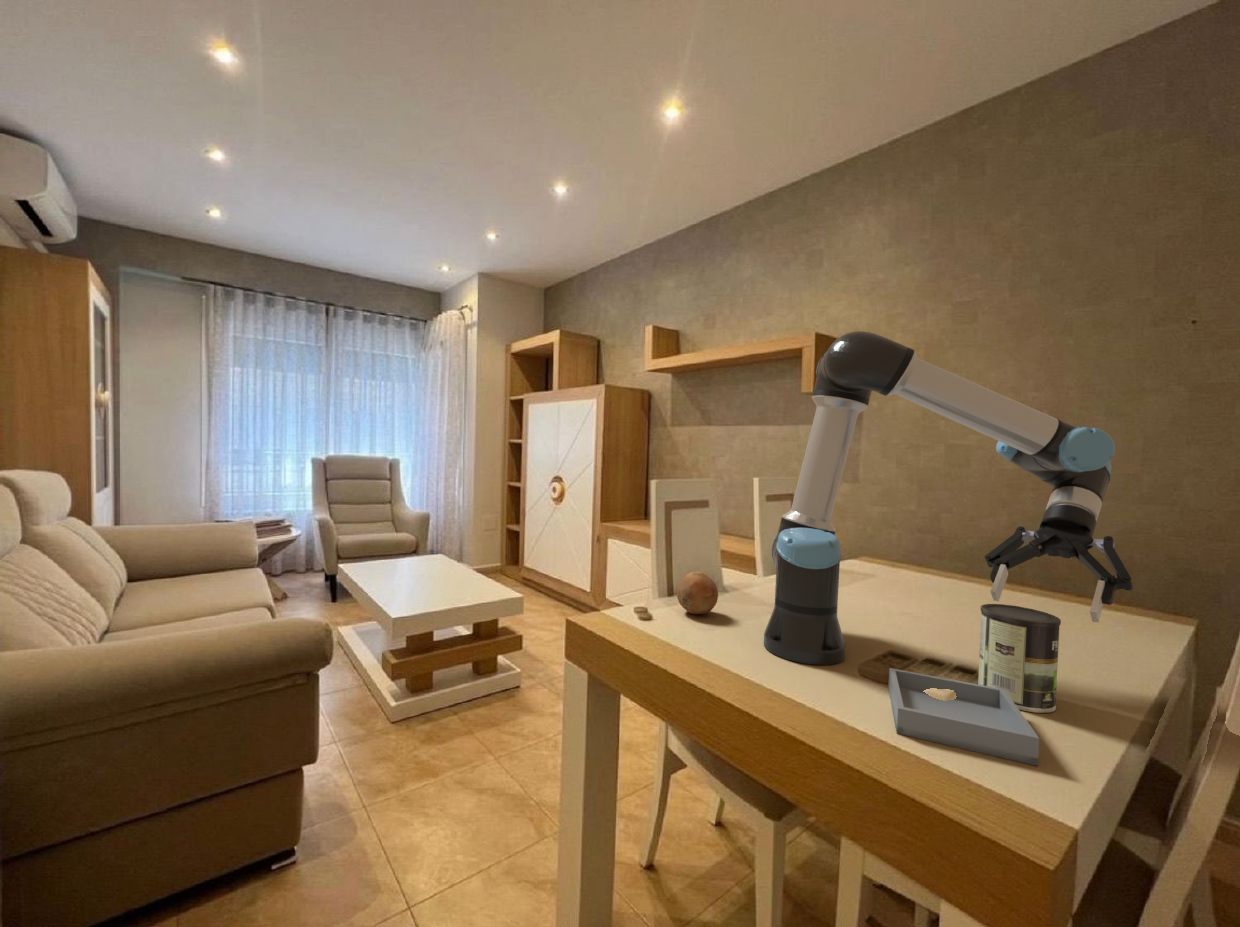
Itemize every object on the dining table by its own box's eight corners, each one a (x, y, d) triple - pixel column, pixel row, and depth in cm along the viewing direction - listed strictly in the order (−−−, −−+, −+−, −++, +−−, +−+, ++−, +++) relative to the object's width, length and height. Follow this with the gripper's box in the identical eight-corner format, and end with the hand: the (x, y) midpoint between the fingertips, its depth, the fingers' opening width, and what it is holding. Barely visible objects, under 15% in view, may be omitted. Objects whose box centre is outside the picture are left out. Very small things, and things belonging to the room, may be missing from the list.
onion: (723, 613, 123) (725, 571, 123) (707, 623, 114) (709, 579, 114) (687, 605, 128) (689, 565, 128) (669, 614, 120) (671, 572, 120)
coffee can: (1049, 695, 85) (1054, 611, 84) (1062, 720, 76) (1067, 627, 76) (974, 678, 90) (978, 599, 90) (978, 700, 81) (983, 613, 81)
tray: (896, 733, 70) (897, 708, 70) (888, 688, 84) (889, 667, 84) (1038, 766, 63) (1039, 738, 63) (1003, 712, 78) (1004, 689, 78)
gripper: (1167, 539, 88) (1146, 641, 79) (996, 521, 108) (964, 601, 99) (1164, 509, 84) (1141, 612, 76) (988, 497, 105) (954, 576, 96)
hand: (1041, 606), depth 87 cm, fingers open, 13 cm apart
